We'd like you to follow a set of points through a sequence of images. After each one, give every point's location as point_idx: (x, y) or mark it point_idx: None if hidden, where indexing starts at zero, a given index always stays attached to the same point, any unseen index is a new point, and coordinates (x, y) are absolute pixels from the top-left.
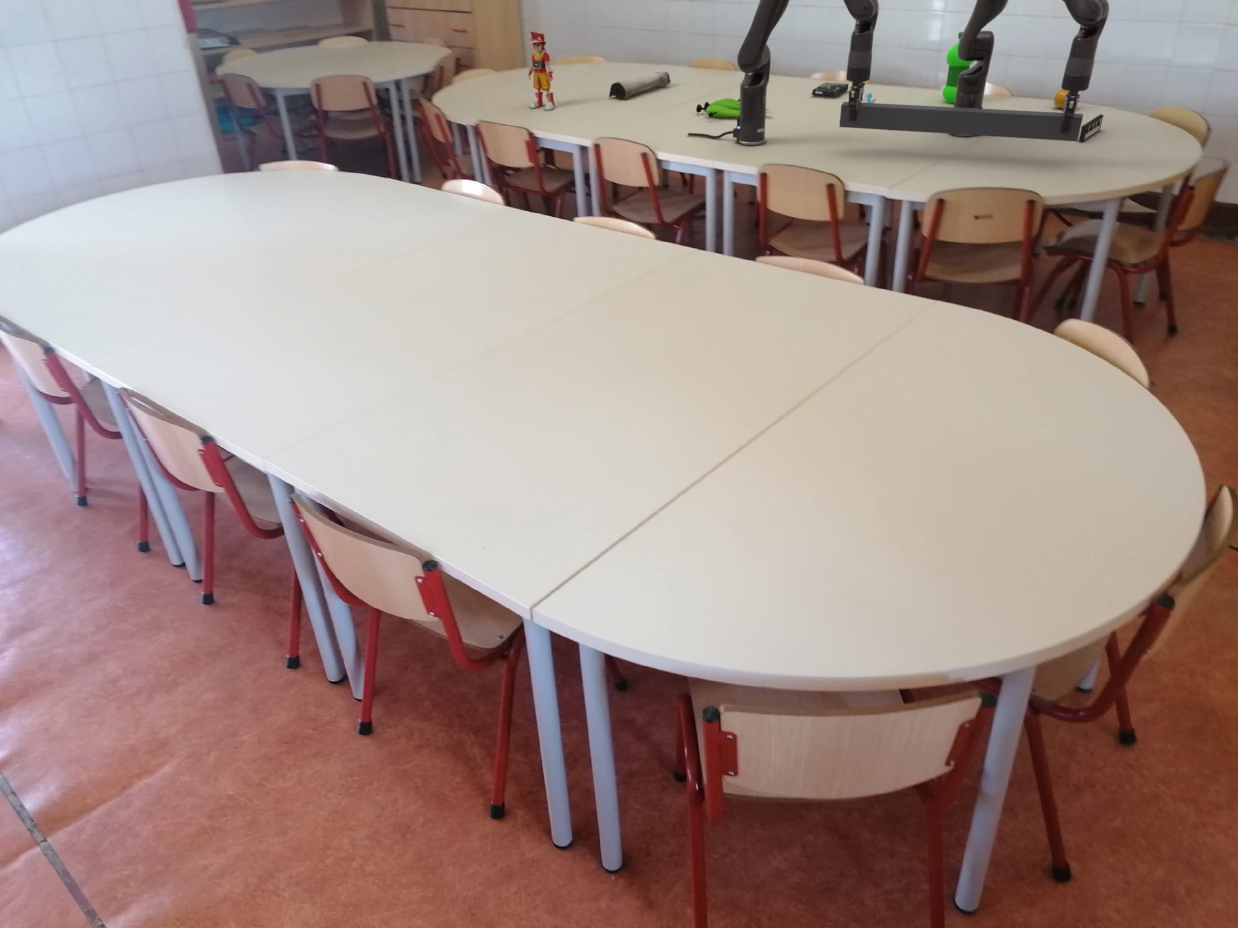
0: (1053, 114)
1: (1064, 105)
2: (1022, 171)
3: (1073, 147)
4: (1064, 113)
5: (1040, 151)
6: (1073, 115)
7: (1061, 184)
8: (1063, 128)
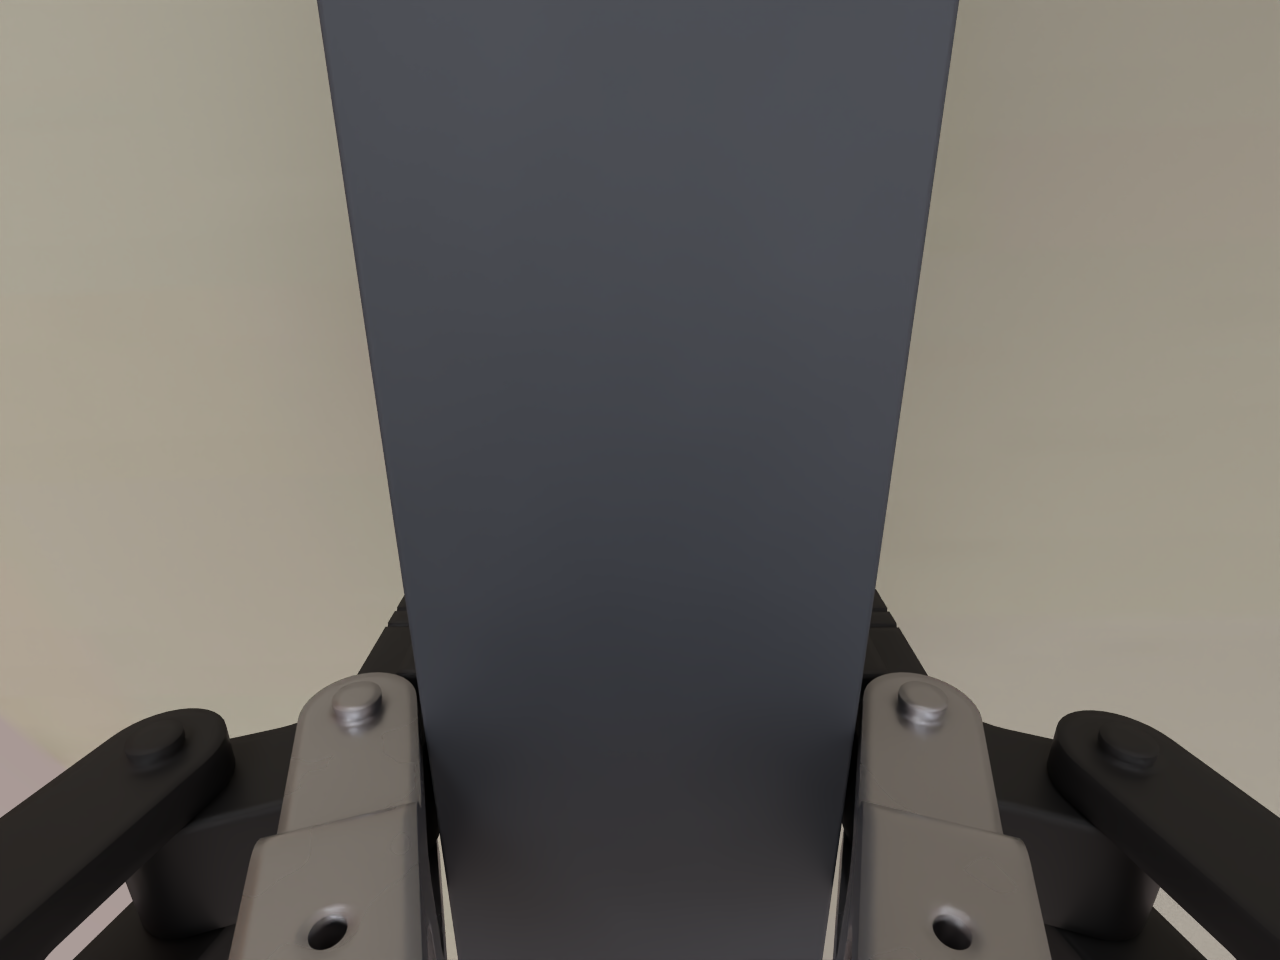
0: (602, 456)
1: (873, 915)
2: (298, 62)
3: (1271, 539)
4: (788, 735)
5: (1143, 231)
6: (610, 911)
7: (38, 473)
8: (402, 613)
